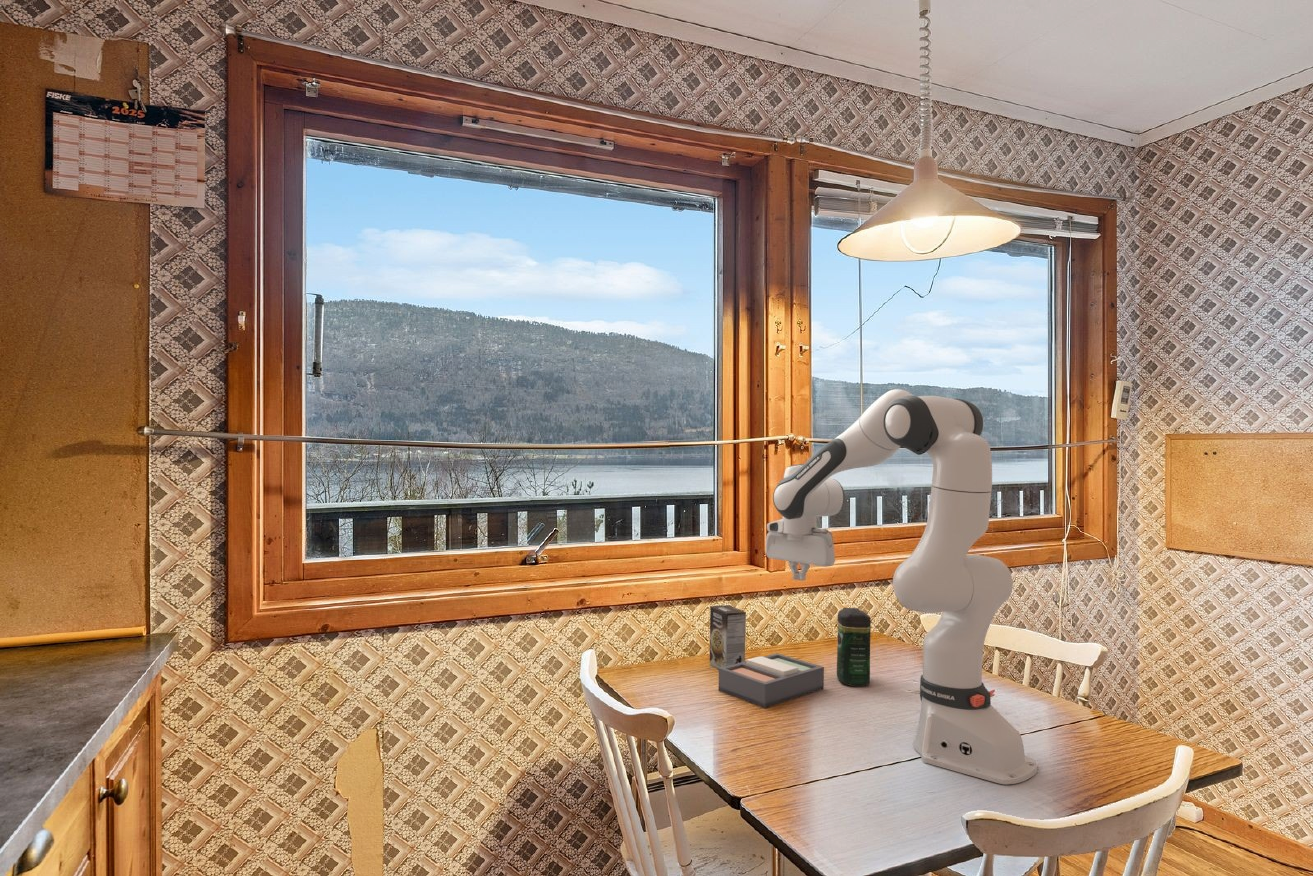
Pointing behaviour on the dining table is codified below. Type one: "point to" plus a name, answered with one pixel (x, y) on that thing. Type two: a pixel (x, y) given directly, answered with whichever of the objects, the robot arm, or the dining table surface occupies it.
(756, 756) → the dining table surface
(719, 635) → the coffee box
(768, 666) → the cream key
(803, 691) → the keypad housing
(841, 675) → the coffee jar
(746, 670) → the orange rectangular block
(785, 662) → the sage key
